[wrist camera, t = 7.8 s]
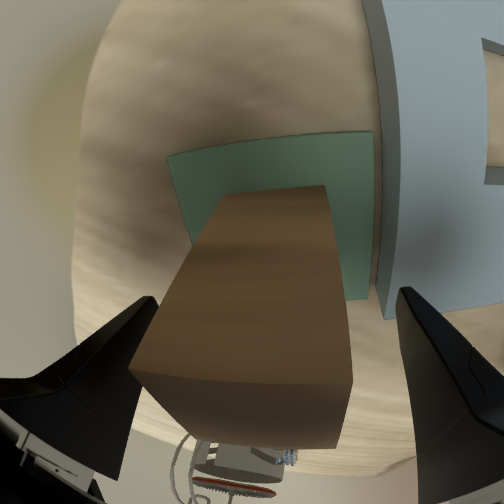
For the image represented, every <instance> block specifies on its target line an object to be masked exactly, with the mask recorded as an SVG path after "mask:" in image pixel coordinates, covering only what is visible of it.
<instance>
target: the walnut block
mask: <svg viewBox="0 0 504 504" xmlns="http://www.w3.org/2000/svg"><path fill="white" fill-rule="evenodd" d="M128 369H129V370H130V372H131V373H132V374H133V375H134V376H135V378H136V379H137V380H138V381H139V382H140V383H141V384H142V386H143V387H144V388H145V389H146V390H147V391H148V392H149V393H150V394H151V396H152V397H153V398H154V399H155V400H156V401H157V402H158V403H159V404H160V405H161V406H162V407H163V408H164V409H165V410H166V411H167V412H168V413H169V414H170V415H171V416H172V417H173V418H174V419H175V420H176V421H177V422H178V423H179V424H180V425H181V426H182V427H183V428H184V429H185V430H186V431H187V432H188V433H190V434H191V435H192V436H193V437H194V438H195V439H197V440H202V441H208V442H215V443H221V444H229V445H237V446H247V447H258V448H273V449H336V446H337V443H338V440H339V436H340V433H341V429H342V425H343V422H344V418H345V414H346V410H347V406H348V402H349V398H350V393H351V389H352V384H353V372H352V359H351V347H350V337H349V327H348V318H347V310H346V302H345V295H344V287H343V280H342V274H341V267H340V261H339V255H338V249H337V243H336V238H335V232H334V227H333V222H332V217H331V212H330V207H329V202H328V197H327V193H326V188H325V185H316V186H303V187H292V188H281V189H271V190H261V191H252V192H243V193H235V194H227V195H223V197H222V198H221V200H220V201H219V203H218V205H217V206H216V208H215V210H214V211H213V213H212V215H211V216H210V218H209V220H208V221H207V223H206V225H205V226H204V228H203V230H202V231H201V233H200V235H199V236H198V238H197V240H196V241H195V243H194V245H193V247H192V248H191V250H190V252H189V254H188V255H187V257H186V259H185V261H184V262H183V264H182V266H181V268H180V269H179V271H178V273H177V275H176V277H175V278H174V280H173V282H172V284H171V286H170V287H169V289H168V291H167V293H166V295H165V297H164V298H163V300H162V302H161V304H160V306H159V308H158V310H157V311H156V313H155V315H154V317H153V319H152V321H151V323H150V325H149V327H148V329H147V331H146V333H145V334H144V336H143V338H142V340H141V342H140V344H139V346H138V348H137V350H136V352H135V354H134V356H133V358H132V360H131V362H130V365H129V367H128Z"/></svg>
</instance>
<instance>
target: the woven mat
mask: <svg viewBox="0 0 504 504" xmlns="http://www.w3.org/2000/svg"><path fill="white" fill-rule="evenodd" d="M278 450H281V449H278ZM296 450H297V449H286V455H285V456H284V457H283V458H276V464H277V463H279V462H281V461H285V464H286V465H289V464H291V466H294V464H296V463H295V462H296V461H297V460H298V459H297V457H298V456H297V455H296V454H297V453H298V452H297V451H296Z"/></svg>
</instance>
